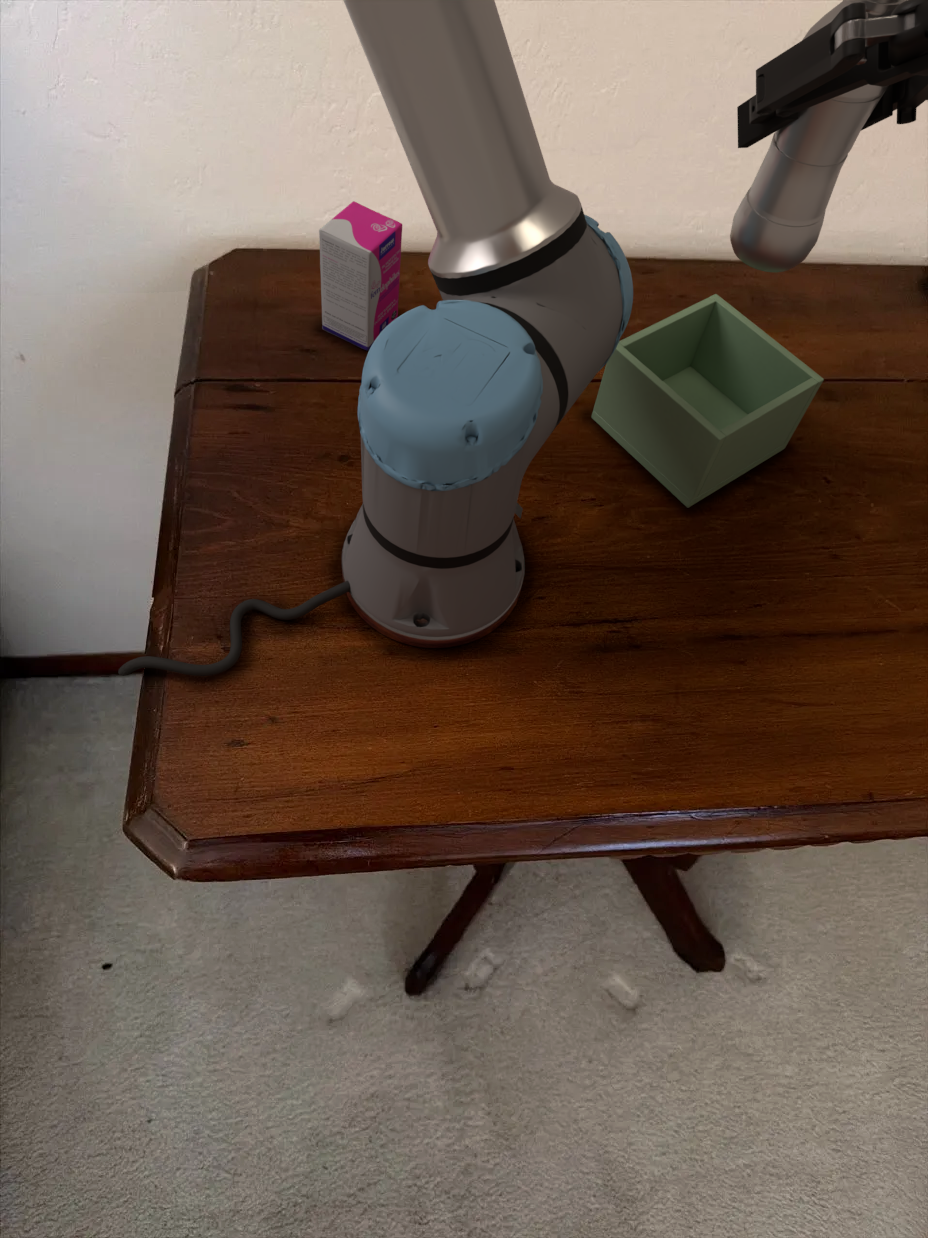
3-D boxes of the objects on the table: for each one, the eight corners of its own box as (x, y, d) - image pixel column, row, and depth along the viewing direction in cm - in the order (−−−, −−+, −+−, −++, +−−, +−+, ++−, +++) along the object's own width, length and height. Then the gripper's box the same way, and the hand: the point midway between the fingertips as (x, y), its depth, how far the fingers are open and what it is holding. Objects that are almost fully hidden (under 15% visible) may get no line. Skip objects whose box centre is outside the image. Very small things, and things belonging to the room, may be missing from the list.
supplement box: (369, 353, 88) (369, 252, 79) (320, 329, 90) (314, 227, 80) (400, 321, 91) (403, 220, 81) (353, 299, 92) (350, 197, 83)
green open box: (687, 508, 81) (719, 439, 73) (590, 417, 86) (611, 344, 78) (784, 448, 86) (824, 378, 78) (687, 366, 91) (716, 293, 84)
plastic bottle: (821, 268, 69) (966, -23, 52) (760, 293, 67) (891, -3, 50) (764, 223, 72) (885, -68, 55) (704, 246, 69) (811, -51, 53)
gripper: (873, 64, 41) (664, 187, 63) (1210, 56, 45) (901, 175, 67) (877, -123, 40) (661, 71, 62) (1227, -117, 43) (904, 65, 65)
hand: (786, 125), depth 64 cm, fingers closed on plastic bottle, 6 cm apart
